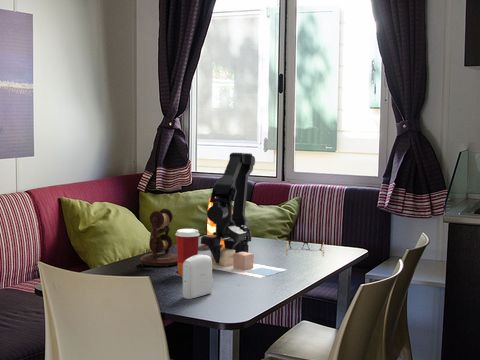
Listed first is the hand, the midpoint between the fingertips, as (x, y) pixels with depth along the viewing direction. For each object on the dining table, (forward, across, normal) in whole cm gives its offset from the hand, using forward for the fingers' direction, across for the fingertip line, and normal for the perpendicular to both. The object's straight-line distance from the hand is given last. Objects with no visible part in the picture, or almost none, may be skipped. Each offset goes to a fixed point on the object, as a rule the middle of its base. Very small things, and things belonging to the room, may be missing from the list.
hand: (223, 261), depth 267 cm
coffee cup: (+2, -17, +2) cm, 17 cm away
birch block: (+1, 0, 0) cm, 1 cm away
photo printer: (+2, -36, -19) cm, 41 cm away
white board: (+2, 0, -9) cm, 9 cm away
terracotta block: (+1, 0, -9) cm, 9 cm away
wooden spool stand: (+2, -13, +18) cm, 22 cm away
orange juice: (+2, +30, +26) cm, 40 cm away
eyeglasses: (+3, +42, -7) cm, 43 cm away
